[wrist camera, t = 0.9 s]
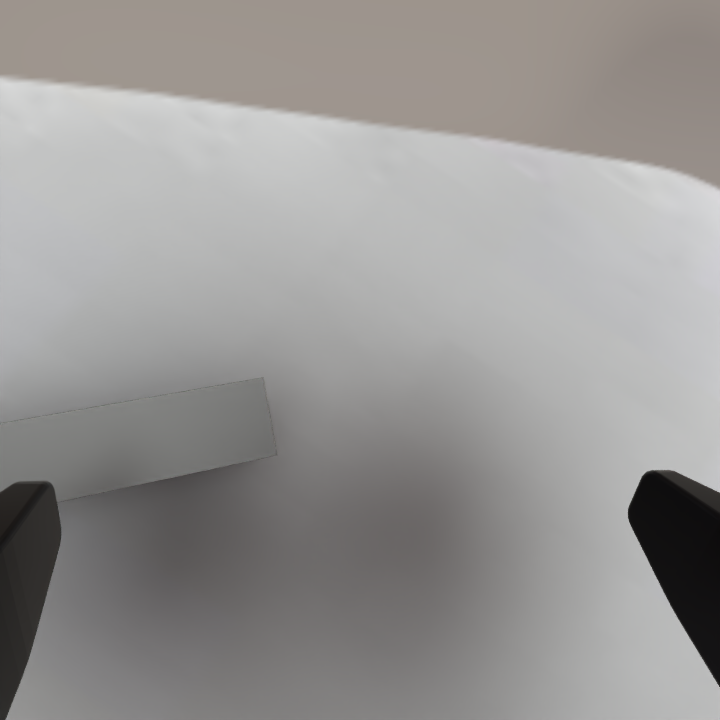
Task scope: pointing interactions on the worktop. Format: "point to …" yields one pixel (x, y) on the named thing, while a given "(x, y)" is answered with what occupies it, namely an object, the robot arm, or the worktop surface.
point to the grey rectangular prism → (139, 440)
